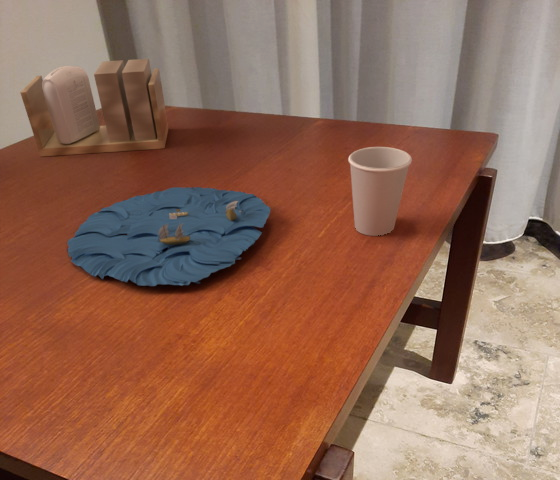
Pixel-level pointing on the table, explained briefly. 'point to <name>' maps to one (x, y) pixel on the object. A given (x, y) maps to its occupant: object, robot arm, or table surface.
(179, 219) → the decorative plate
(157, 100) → the rack
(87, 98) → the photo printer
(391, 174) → the dixie cup
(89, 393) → the table surface
